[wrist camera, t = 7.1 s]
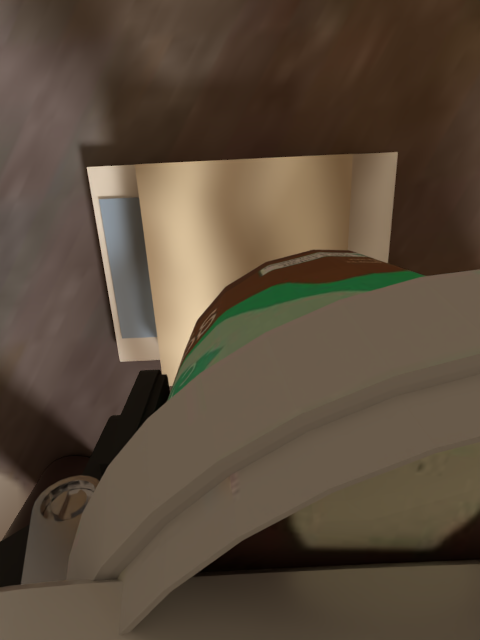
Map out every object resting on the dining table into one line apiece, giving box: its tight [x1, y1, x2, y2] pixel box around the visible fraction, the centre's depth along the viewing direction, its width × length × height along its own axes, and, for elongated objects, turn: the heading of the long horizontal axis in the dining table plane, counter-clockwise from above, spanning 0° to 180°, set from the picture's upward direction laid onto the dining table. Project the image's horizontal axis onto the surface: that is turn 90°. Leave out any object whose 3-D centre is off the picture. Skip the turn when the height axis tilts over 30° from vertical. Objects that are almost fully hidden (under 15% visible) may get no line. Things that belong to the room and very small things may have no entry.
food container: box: [66, 250, 480, 635], centre depth 10 cm, size 12×6×10 cm, turn 173°
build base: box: [87, 152, 398, 386], centre depth 27 cm, size 20×14×6 cm
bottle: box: [3, 456, 90, 540], centre depth 28 cm, size 7×7×20 cm
